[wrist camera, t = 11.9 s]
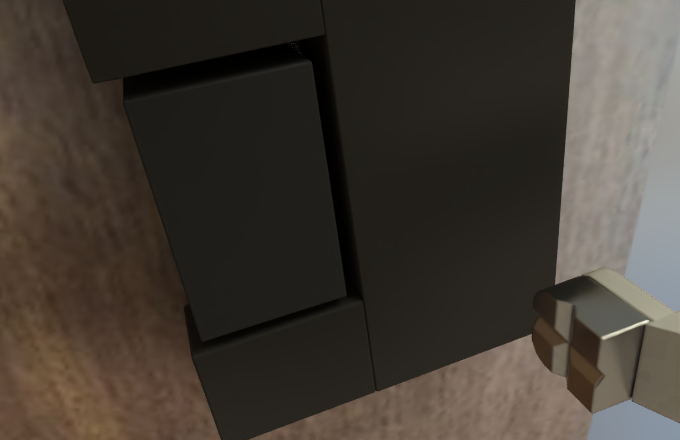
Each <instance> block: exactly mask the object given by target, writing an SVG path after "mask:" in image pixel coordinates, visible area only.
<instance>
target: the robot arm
mask: <svg viewBox="0 0 680 440" xmlns="http://www.w3.org/2000/svg"><path fill="white" fill-rule="evenodd" d="M533 309H534V310H535V311H536V312H537V313H538V314H539V316H538V318H537V319H536V321H535V322H534V324H533V326H532V342H533V345H534V348H535V351H536V353H537V355H538V357H539V358H540V360H541V361H542V363H543V364H544V365H545V366H546V367H547V368H548V369H549V370H550V371H551V372H552V373H555V374H557V375H560V376H563V377H566V380H567V389H568V390H569V391H570V392H571V393H572V394H573V395H574V396H575V397H576V398H577V399H578V400H579V401H580V402H581V403H582V404H583V405H584V406H585V407H586V408H587V409H588V410H589V411H590V412H591V413H592V414H594V413H596V412H598V411H601V410H604V409H606V408H609V407H612V406H614V405H617V404H619V403H622V402H624V401H627V400H630V399H632V402H634V403H637V404H639V405H641V406H643V407H645V408H648V409H650V410H652V411H654V412H656V413H658V414H661V415H663V416H665V417H667V418H669V419H672V420H674V421H676V422H678V423H680V311H678V312H675V311H673V310H672V309H670V308H669V307H667V306H666V305H664V304H663V303H661V302H660V301H659V300H657V299H656V298H654V297H653V296H651V295H650V294H648V293H647V292H645V291H644V290H642V289H641V288H640V287H638V286H637V285H635V284H634V283H632V282H631V281H629V280H628V279H626V278H625V277H623V276H622V275H621V274H619V273H618V272H616V271H615V270H613V269H611V268H607V267H602V268H600V269H597V270H594V271H592V272H589V273H586V274H583V275H582V276H578V277H575V278H573V279H570V280H567V281H565V282H562V283H559V284H556V285H554V286H551V287H548V288H546V289H543V290H540V291H537V293H536V295H535V296H534V298H533Z"/></svg>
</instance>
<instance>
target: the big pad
mask: <svg viewBox="0 0 680 440" xmlns="http://www.w3.org/2000/svg"><path fill="white" fill-rule="evenodd" d="M575 2H576V0H63V3H64V6H65V9H66V11H67V14H68V17H69V20H70V23H71V25H72V28H73V31H74V34H75V36H76V39H77V42H78V45H79V47H80V50H81V53H82V56H83V59H84V61H85V64H86V67H87V70H88V72H89V75H90V78H91V81H92V83H94V84H96V83H101V82H105V81H110V80H115V79H120V78H124V77H129V76H134V75H138V74H143V73H148V72H152V71H157V70H162V69H167V68H171V67H176V66H181V65H185V64H190V63H195V62H200V61H204V60H209V59H214V58H218V57H223V56H228V55H233V54H237V53H242V52H247V51H251V50H256V49H261V48H266V47H270V46H275V45H280V44H284V43H289V42H294V41H299V40H300V43H301V49H302V55H303V56H304V57H305V58H307V59H308V60H309V61H311V62H312V66H313V73H314V80H315V86H316V93H317V100H318V106H319V113H320V120H321V126H322V133H323V140H324V146H325V153H326V160H327V166H328V173H329V180H330V187H331V193H332V200H333V207H334V213H335V220H336V227H337V233H338V240H339V247H340V253H341V260H342V267H343V273H344V280H345V287H346V293H347V295H346V296H345V297H341V298H338V299H335V300H332V301H329V302H326V303H323V304H320V305H316V306H313V307H310V308H307V309H304V310H301V311H298V312H294V313H291V314H288V315H285V316H282V317H279V318H276V319H273V320H269V321H266V322H263V323H260V324H257V325H254V326H251V327H248V328H244V329H241V330H238V331H235V332H232V333H229V334H226V335H223V336H219V337H216V338H213V339H210V340H207V341H204V342H202V341H201V339H200V336H199V333H198V330H197V327H196V324H195V321H194V318H193V315H192V312H191V309H190V306H189V305H188V306H185V307H184V313H185V319H186V325H187V331H188V337H189V343H190V350H191V356H192V360H193V363H194V366H195V368H196V371H197V374H198V377H199V379H200V382H201V385H202V388H203V390H204V393H205V396H206V399H207V402H208V404H209V407H210V410H211V413H212V415H213V418H214V421H215V424H216V426H217V429H218V432H219V435H220V438H221V440H248V439H251V438H253V437H256V436H259V435H261V434H264V433H267V432H269V431H272V430H275V429H277V428H280V427H283V426H285V425H288V424H291V423H293V422H296V421H299V420H301V419H304V418H307V417H309V416H312V415H315V414H317V413H320V412H323V411H325V410H328V409H331V408H333V407H336V406H339V405H342V404H344V403H347V402H350V401H352V400H355V399H358V398H360V397H363V396H366V395H368V394H371V393H374V392H375V391H380V390H383V389H385V388H388V387H391V386H393V385H396V384H399V383H402V382H404V381H407V380H410V379H412V378H415V377H418V376H420V375H423V374H426V373H428V372H431V371H434V370H436V369H439V368H442V367H444V366H447V365H450V364H452V363H455V362H458V361H460V360H463V359H466V358H468V357H471V356H474V355H476V354H479V353H482V352H484V351H487V350H490V349H492V348H495V347H498V346H500V345H503V344H506V343H508V342H511V341H514V340H516V339H519V338H522V337H524V336H527V335H530V334H532V326H533V324H534V322H535V321H536V319H537V318H538V316H539V314H538V313H537V312H536V311H535V310H534V309H533V298H534V296H535V295H536V293H537V291H540V290H543V289H546V288H548V287H551V286H554V285H555V276H556V262H557V249H558V235H559V221H560V208H561V194H562V180H563V167H564V153H565V139H566V126H567V112H568V98H569V84H570V71H571V57H572V43H573V30H574V16H575Z"/></svg>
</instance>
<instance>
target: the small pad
mask: <svg viewBox="0 0 680 440" xmlns="http://www.w3.org/2000/svg"><path fill="white" fill-rule="evenodd" d="M123 106H124V109H125V112H126V115H127V118H128V121H129V124H130V127H131V130H132V133H133V136H134V139H135V142H136V145H137V148H138V151H139V154H140V157H141V160H142V163H143V166H144V169H145V172H146V175H147V178H148V181H149V184H150V187H151V190H152V194H153V197H154V200H155V203H156V206H157V209H158V212H159V215H160V218H161V221H162V224H163V227H164V230H165V233H166V236H167V239H168V242H169V245H170V248H171V251H172V254H173V257H174V260H175V263H176V266H177V269H178V272H179V275H180V278H181V281H182V284H183V287H184V290H185V293H186V296H187V299H188V303H189V306H190V309H191V312H192V315H193V318H194V321H195V324H196V327H197V330H198V333H199V336H200V339H201V341H202V342H204V341H207V340H210V339H213V338H216V337H219V336H223V335H226V334H229V333H232V332H235V331H238V330H241V329H244V328H248V327H251V326H254V325H257V324H260V323H263V322H266V321H269V320H273V319H276V318H279V317H282V316H285V315H288V314H291V313H294V312H298V311H301V310H304V309H307V308H310V307H313V306H316V305H320V304H323V303H326V302H329V301H332V300H335V299H338V298H341V297H345V296H346V295H347V293H346V287H345V280H344V273H343V267H342V260H341V253H340V247H339V240H338V233H337V227H336V220H335V213H334V207H333V200H332V193H331V187H330V180H329V173H328V166H327V160H326V153H325V146H324V140H323V133H322V126H321V120H320V113H319V106H318V100H317V93H316V86H315V80H314V73H313V66H312V62H311V61H309V60H308V59H307V58H305V57H304V56H302V55H301V54H299V53H298V52H296V51H295V50H293V49H292V48H290V47H289V46H288V45H286V44H280V45H275V46H270V47H266V48H261V49H256V50H251V51H247V52H242V53H237V54H233V55H228V56H223V57H218V58H214V59H209V60H204V61H200V62H195V63H190V64H185V65H181V66H176V67H171V68H167V69H162V70H157V71H152V72H148V73H143V74H138V75H134V76H129V77H124V78H123Z"/></svg>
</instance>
